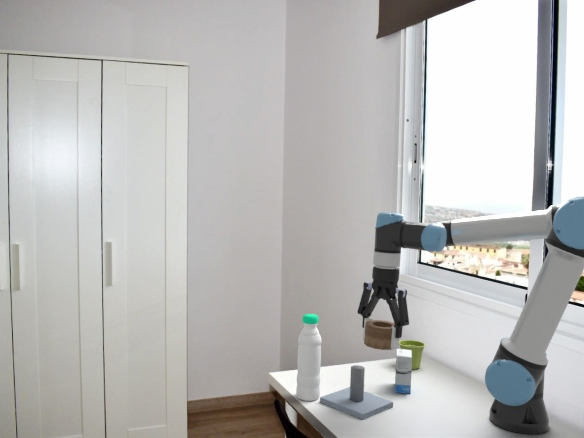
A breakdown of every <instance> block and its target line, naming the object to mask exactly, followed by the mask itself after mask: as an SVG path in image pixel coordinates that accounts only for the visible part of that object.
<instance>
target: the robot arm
mask: <svg viewBox="0 0 584 438" xmlns="http://www.w3.org/2000/svg"><path fill="white" fill-rule="evenodd" d="M374 229H375V234H374V249H373V258H372V259H373V260H372V264H373V265H374V266H373V267H372V273H371V274H372V276H371V277H372V282H371V281H365V282H363V283H362V284H363V285H362V287H363V291H362V294H361V297H360V301H359V305H358V308H357V314H359V315H360V316H362V329H363V335H362V337H363V338H362V341H364V338H365V324H366V322H367V321H371V320H373V316H372V314H373V312H374V310H375V308H376V306H377V305H378V302H379V301H380V300H381V299H382V300H383V301H386V304H387V305H388V307H389V311H390V314H391V317H392V319H393V323H395V325H394V326H392V338H391V349H392V350H391V351H393V350H397V349H400V345H399V341H400V339H401V338H402V336H403V327H405V326H408V325H410V319H409V310H408V302H407V296H408V291H407V290H408V289H401V288H399V286H398V284H399V283H398V282H399V278H400V269H399V267H400V265H401V253H402V249H411V250H419V251H423V252H424V251H426V252H429V253H431V252H436V253H440V252H442V251H443V250H444V249H445V248H447V247H454V246H455V247H456V246H467V245H480V244H491V243H492V244H493V243H505V242H517V241H518V242H520V241H530V240H531V241H533V240H545V245H546V248H547V250H548V252H547V255H546V256H545V259H544V261H543V263H542V266H541V267H540V270H539V272H538V275H537V276H536V279H535V281H534V283H533V286H532V288H531V289H530V292H529V295H528V296H527V299H526V302H525V304H524V306H523V308H522V310H521V312H520V314H519V317H518V319H517V321H516V323H515V326H514V328H513V331H512V333H511V335H510V337H503V338H501V339H500V340H499V341H500V342H499V345H498V348H497V351H496V353H495V355H494V356H493V360H492V361H491V363H489V365H488V366H487V368H486V369H485V375H484V383H485V386H486V388H487V391H488V393H489V394H490V395H491V396H492V397H493V398H494V399H493V402H492V404H491V406H490V409H489V420H490V421H491V422H492V424H494V426H495V425H496V426H497V427H499V428H502V429H504V430H506V431H510V432H514V433H520V434H526V435H539V434H543V433H546V432H547V431H548V430H549V429H550V427H549V426H550V419H549V416H548V415H549V414H548V411H547V408H546V404H545V401H544V388H545V372H546V371H545V370H546V368H547V366H548V364H549V360H548V357H547V352H546V351H547V350H548V348H549V345H550V343H551V342H552V339H553V336H554V335H555V332H556V331H557V328H558V326H559V324H560V322H561V319H562V317H563V316H564V314H565V311H566V309H567V306H568V305H569V302H570V300H571V298H572V296H573V293H574V291H575V289H576V288H577V285H578V283H579V281H580V279H581V277H582V274H583V272H584V196H577V197H573V198H570V199H568V200H566V201H565V202H564V203H562V204H561V203H560V204H556V205H555V204H554V205H550V206H549V207H548V208H547V209H544V210H543V209H541V210H535V211H524V212H516V213H504V214H496V215H488V216H487V215H486V216H477V217H468V218H458V219H449V220H436V221H430V222H417V221H406V220H405V219H404V214H402V213H398V212H382V211H381V212H380V213H378V214H377V215H376V222H375V227H374ZM372 290H373V292H372Z"/></svg>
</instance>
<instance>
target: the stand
mask: <svg viewBox="0 0 584 438" xmlns="http://www.w3.org/2000/svg"><path fill="white" fill-rule="evenodd" d="M365 368H366V367H364V366H363V365H355V364H354V365H351V366H350V380H349V381H350V382H349V387H346V388H343V389H340V390H338V391H334V392H331V393H328V394H325V395H323V396H319V403H320V404H323V405H326V406H328V407H331V408H334V409H335V410H339V411H341V412H343V413H345V414H348V415H351V416H353V417H356V418H357V419H361V420H365V419H368V418H370V417H372V416H374V415H377V414H380V413H382V412H385V411H386V410H389V409H391V408H394V401H392V400H389V399H387V398H383V397H380V396H378V395H375V394H373V393H369V392H367V391H365V371H366V369H365Z"/></svg>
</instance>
